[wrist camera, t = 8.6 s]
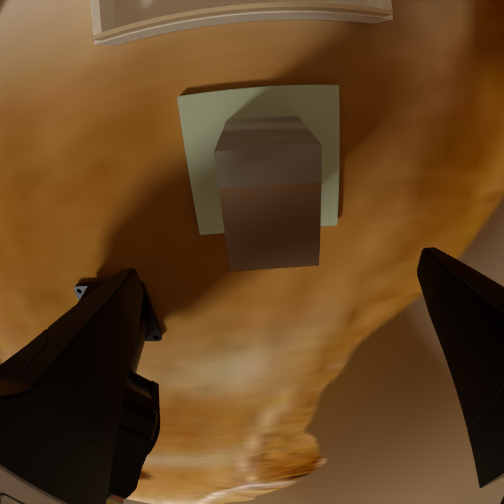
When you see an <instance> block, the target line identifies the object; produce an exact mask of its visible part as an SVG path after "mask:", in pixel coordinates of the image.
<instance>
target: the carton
mask: <svg viewBox="0 0 504 504" xmlns="http://www.w3.org/2000/svg"><path fill="white" fill-rule="evenodd" d="M90 4H91V17H92V27H93V36H92V40H94V45H118V44H122V43H126V42H129V41H133V40H137V39H141V38H145V37H150V36H154V35H159V34H163V33H168V32H173V31H179V30H184V29H190V28H197V27H203V26H210V25H218V24H227V23H237V22H249V21H264V20H333V21H349V22H361V23H370V24H376V23H380V22H384V21H389V20H393V15H394V13H393V10H392V1H391V0H90Z"/></svg>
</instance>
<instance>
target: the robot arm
mask: <svg viewBox="0 0 504 504" xmlns="http://www.w3.org/2000/svg"><path fill="white" fill-rule="evenodd" d="M417 276H418V279H419V283H420V286H421V289H422V292H423V295H424V299H425V302H426V305H427V309H428V312H429V315H430V317H431V320H432V323H433V325H434V328H435V330H436V333H437V336H438V339H439V341H440V344H441V347H442V349H443V352H444V355H445V358H446V360H447V364H448V366H449V369H450V372H451V375H452V378H453V382H454V385H455V388H456V391H457V394H458V398H459V401H460V404H461V408H462V411H463V415H464V419H465V423H466V426H467V428H468V429H467V431H468V435H469V439H470V443H471V447H472V451H473V456H474V460H475V465H476V471H477V476H478V481H479V486H480V488H482V487H484V486H486V485H489V484H490V483H492V482H494V481H497V480H499V479H500V478H502V477H504V287H503V286H501V285H500V284H498V283H496V282H495V281H493V280H491V279H490V278H488V277H486V276H485V275H483V274H481V273H480V272H478V271H476V270H474V269H473V268H471V267H469V266H467V265H466V264H464V263H462V262H460V261H459V260H457V259H455V258H453V257H451V256H450V255H448V254H446V253H444V252H442V251H440V250H439V249H437V248H434V247H431V248H424V249H423V250H422V252H421V256H420V260H419V264H418V268H417ZM74 291H75V293H76V295H77V297H78V299H79V302H78V304H76V305H75V306H74V307H73V308H71V309H70V310H69V311H68V312H66V313H65V314H64V315H63V316H61V317H60V318H59V319H58V320H57V321H55V322H54V323H53V324H52V325H51V326H49V327H48V329H46V330H44V331H43V332H42V333H41V334H40V335H38V336H37V337H36V338H35V339H34V340H32V341H31V342H30V343H29V344H27V345H26V346H25V347H23V348H22V349H21V350H20V351H18V352H17V353H16V354H14V355H13V356H12V357H10V358H9V359H8V360H6V361H5V362H4V363H2V364H1V365H0V504H106V501H107V499H109V498H110V497H112V496H113V495H114V496H117V497H120V498H123V499H126V498H127V497H128V496H130V495H131V494H132V493H133V492H134V491H135V489H136V488H137V484H138V480H139V476H140V473H141V469H142V466H143V464H144V461H145V459H146V457H147V455H148V454H149V453H150V452H151V450H152V449H153V447H154V445H155V443H156V441H157V438H158V435H159V431H160V407H159V384H158V383H156V382H154V381H150V380H148V379H146V378H144V377H142V376H140V375H138V374H136V371H137V367H138V364H139V360H140V356H141V353H142V349H143V346H144V342H145V341H160V340H161V339H162V332H161V329H160V327H159V324H158V322H157V319H156V316H155V314H154V311H153V308H152V306H151V303H150V300H149V297H148V295H147V292H146V289H145V286H144V284H143V283H142V282H140V280H139V277H138V274H137V272H136V270H135V269H133V268H128V269H122V270H120V271H119V272H118V273H116V274H115V275H114V276H112V277H111V278H110V279H108V280H107V281H106V282H97V283H79V284H77V285H76V286H75V288H74ZM501 504H504V497H503V499H502V501H501Z"/></svg>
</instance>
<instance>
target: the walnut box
mask: <svg viewBox="0 0 504 504" xmlns="http://www.w3.org/2000/svg"><path fill="white" fill-rule="evenodd" d="M214 156H215V164H216V172H217V179H218V187H219V195H220V202H221V210H222V217H223V225H224V232H225V239H226V246H227V253H228V260H229V267H230V271H243V270H258V269H273V268H288V267H302V266H316V265H319V251H320V226H321V180H322V145H321V144H320V142H319V141H318V140H317V139H316V137H315V136H314V135H313V134H312V133H311V131H310V130H309V129H308V128H307V127H306V126H305V124H304V123H303V122H302V121H301V120H300V118H299V117H298V116H295V117H272V118H256V119H243V120H232V121H226V123H225V125H224V127H223V130H222V132H221V135H220V138H219V140H218V143H217V145H216V148H215V150H214Z"/></svg>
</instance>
